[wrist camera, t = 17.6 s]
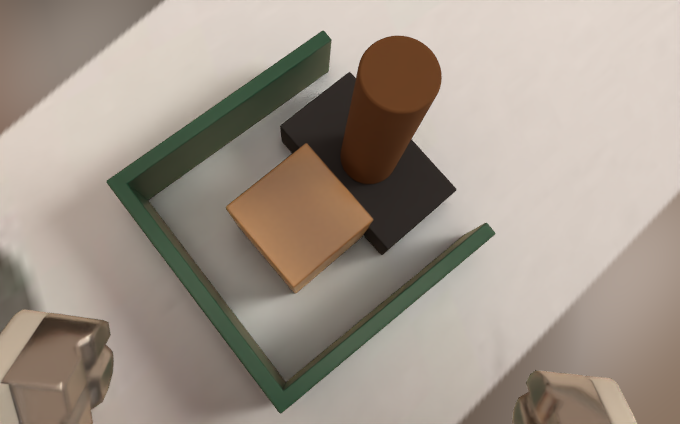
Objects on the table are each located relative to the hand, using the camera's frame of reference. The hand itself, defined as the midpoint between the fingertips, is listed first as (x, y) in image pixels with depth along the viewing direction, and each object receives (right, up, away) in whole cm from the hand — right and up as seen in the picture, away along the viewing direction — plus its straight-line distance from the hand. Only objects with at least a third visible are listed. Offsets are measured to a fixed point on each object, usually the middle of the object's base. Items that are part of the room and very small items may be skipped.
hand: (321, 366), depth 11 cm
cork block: (-1, +2, +14) cm, 14 cm away
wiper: (+1, +5, +15) cm, 16 cm away
